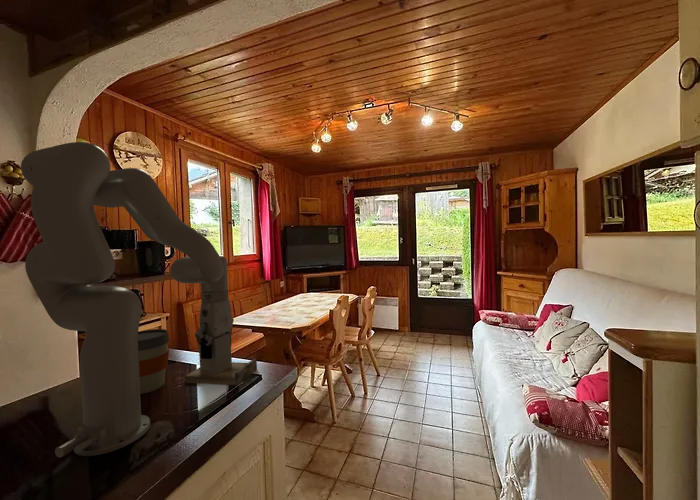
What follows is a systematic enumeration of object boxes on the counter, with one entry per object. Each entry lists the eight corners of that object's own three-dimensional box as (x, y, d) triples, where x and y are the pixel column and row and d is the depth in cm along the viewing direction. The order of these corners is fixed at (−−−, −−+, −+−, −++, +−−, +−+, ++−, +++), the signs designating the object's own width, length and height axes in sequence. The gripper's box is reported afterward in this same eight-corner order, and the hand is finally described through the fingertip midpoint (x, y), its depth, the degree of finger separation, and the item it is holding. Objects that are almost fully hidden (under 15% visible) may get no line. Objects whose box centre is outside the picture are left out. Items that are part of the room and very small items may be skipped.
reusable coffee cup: (129, 381, 90) (127, 331, 90) (176, 374, 94) (174, 327, 94) (109, 401, 78) (106, 344, 78) (163, 393, 82) (161, 338, 81)
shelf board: (238, 385, 85) (238, 373, 84) (185, 382, 88) (185, 370, 88) (257, 369, 95) (257, 358, 95) (209, 367, 98) (209, 357, 98)
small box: (232, 367, 92) (231, 333, 92) (216, 374, 88) (215, 338, 87) (215, 363, 96) (214, 331, 96) (199, 370, 91) (197, 335, 91)
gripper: (207, 301, 82) (209, 364, 82) (241, 292, 99) (243, 344, 99) (183, 301, 84) (185, 363, 84) (220, 292, 101) (222, 343, 101)
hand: (217, 352), depth 91 cm, fingers open, 9 cm apart
